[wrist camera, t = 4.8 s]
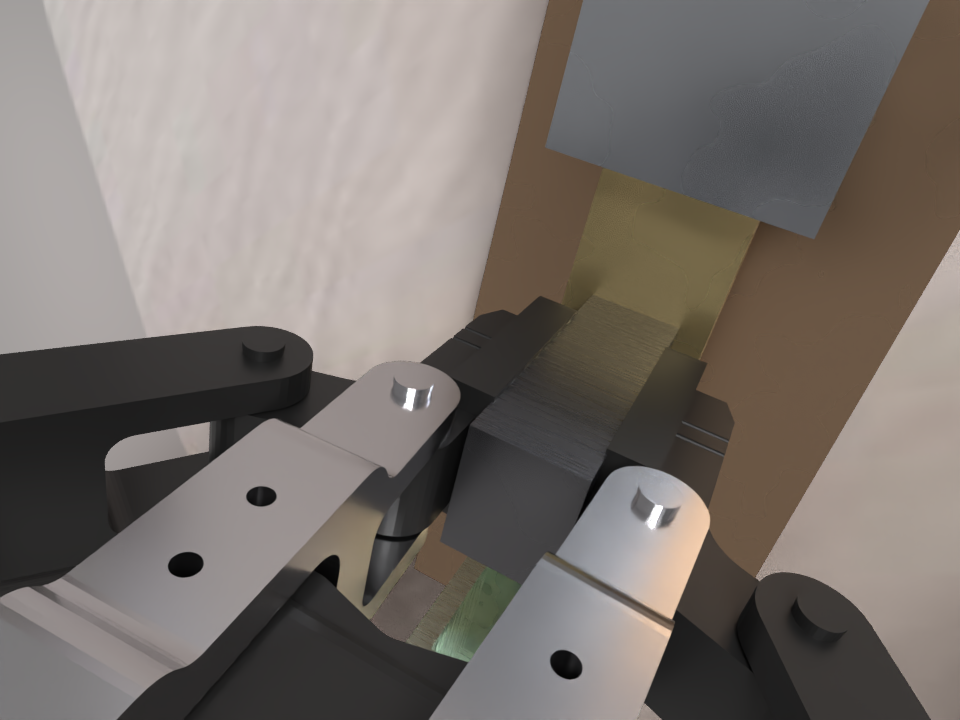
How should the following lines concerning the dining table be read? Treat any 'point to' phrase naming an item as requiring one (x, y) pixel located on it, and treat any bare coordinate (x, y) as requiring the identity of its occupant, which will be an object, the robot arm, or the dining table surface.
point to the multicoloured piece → (747, 191)
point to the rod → (592, 368)
